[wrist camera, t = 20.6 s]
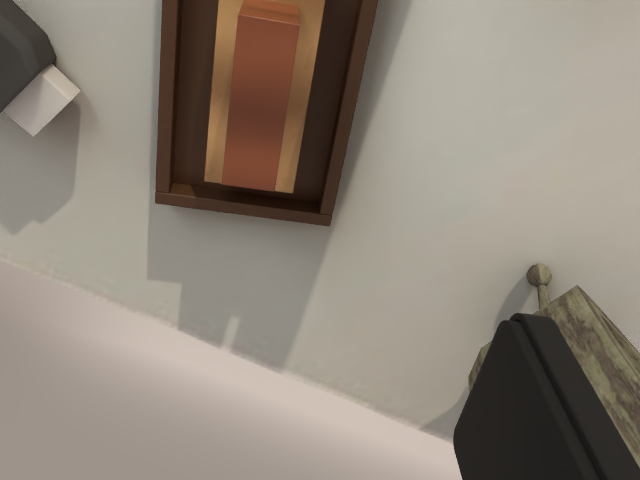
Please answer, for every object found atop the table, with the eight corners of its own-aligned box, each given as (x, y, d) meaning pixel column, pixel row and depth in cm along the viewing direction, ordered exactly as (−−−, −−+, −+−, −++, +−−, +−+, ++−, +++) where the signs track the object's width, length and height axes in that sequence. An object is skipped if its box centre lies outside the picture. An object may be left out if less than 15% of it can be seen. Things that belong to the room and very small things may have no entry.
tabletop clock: (642, 349, 46) (939, 760, 25) (542, 408, 49) (730, 818, 28) (541, 236, 40) (819, 646, 19) (435, 310, 43) (571, 736, 22)
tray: (328, 210, 38) (329, 227, 37) (161, 187, 37) (154, 203, 35) (392, -98, 29) (398, -96, 28) (175, -143, 28) (167, -143, 26)
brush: (228, -62, 30) (212, -44, 24) (328, -43, 30) (336, -22, 24) (210, 159, 36) (193, 217, 30) (292, 171, 36) (292, 229, 30)
